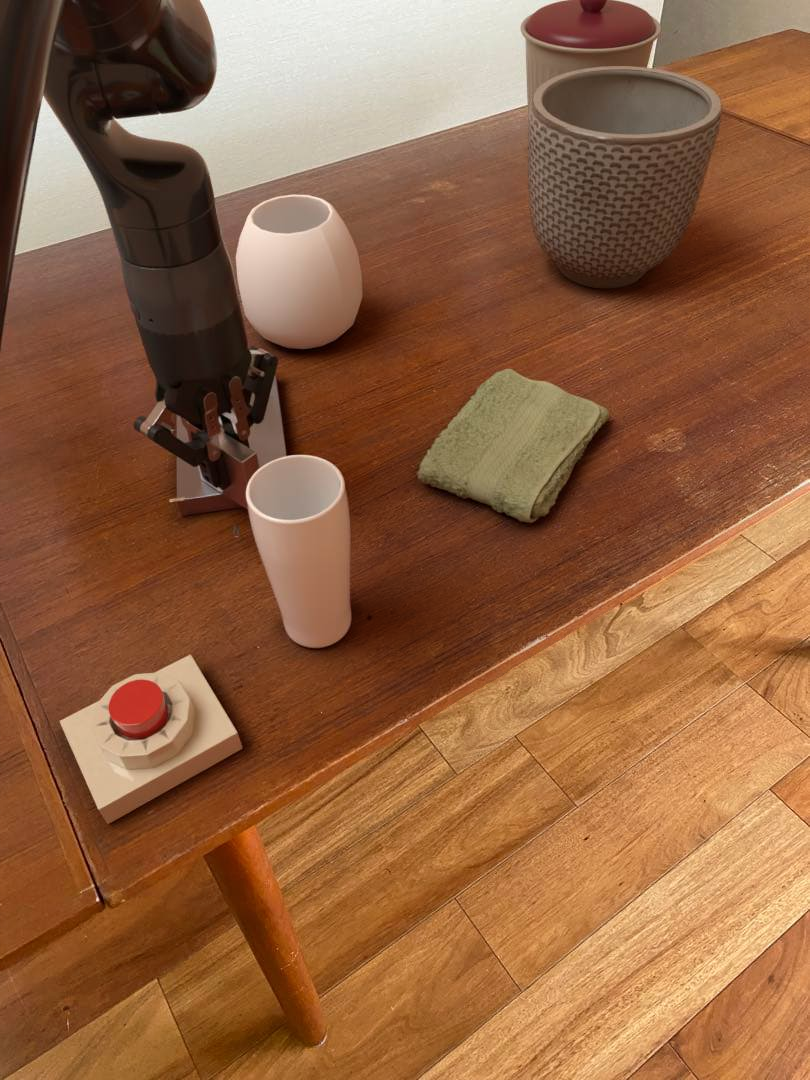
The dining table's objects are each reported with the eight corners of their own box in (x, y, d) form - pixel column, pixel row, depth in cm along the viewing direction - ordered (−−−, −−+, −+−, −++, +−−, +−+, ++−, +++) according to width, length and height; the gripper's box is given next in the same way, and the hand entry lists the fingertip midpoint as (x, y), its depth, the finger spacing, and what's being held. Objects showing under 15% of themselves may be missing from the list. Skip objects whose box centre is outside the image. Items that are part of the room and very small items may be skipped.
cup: (310, 284, 103) (296, 172, 93) (389, 324, 97) (383, 209, 87) (223, 332, 97) (198, 217, 87) (302, 379, 90) (285, 261, 80)
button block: (107, 824, 58) (89, 797, 55) (68, 736, 62) (50, 706, 59) (243, 748, 61) (233, 718, 58) (196, 670, 66) (185, 639, 63)
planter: (495, 240, 109) (503, 78, 95) (640, 216, 112) (668, 55, 98) (555, 325, 96) (574, 151, 82) (716, 294, 99) (762, 122, 85)
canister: (578, 117, 134) (595, -44, 118) (667, 155, 123) (698, -15, 108) (487, 149, 127) (493, -16, 111) (573, 193, 117) (593, 17, 101)
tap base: (306, 543, 74) (303, 526, 73) (174, 564, 73) (168, 546, 72) (283, 380, 90) (280, 363, 89) (174, 395, 89) (169, 378, 88)
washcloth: (613, 420, 84) (618, 393, 82) (537, 536, 74) (540, 510, 72) (492, 381, 89) (494, 355, 87) (405, 486, 79) (404, 459, 76)
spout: (267, 504, 75) (256, 449, 70) (254, 514, 74) (241, 460, 69) (214, 470, 78) (200, 416, 74) (200, 479, 77) (185, 425, 73)
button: (126, 748, 57) (119, 735, 56) (107, 709, 59) (100, 695, 58) (177, 721, 59) (171, 707, 57) (156, 684, 61) (150, 670, 59)
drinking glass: (329, 578, 72) (308, 439, 61) (378, 628, 68) (366, 490, 57) (259, 619, 69) (225, 482, 58) (306, 674, 65) (279, 539, 54)
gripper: (141, 364, 57) (197, 542, 70) (290, 276, 64) (316, 453, 77) (74, 325, 60) (139, 501, 73) (223, 246, 67) (259, 420, 80)
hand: (230, 476), depth 75 cm, fingers closed on spout, 2 cm apart
